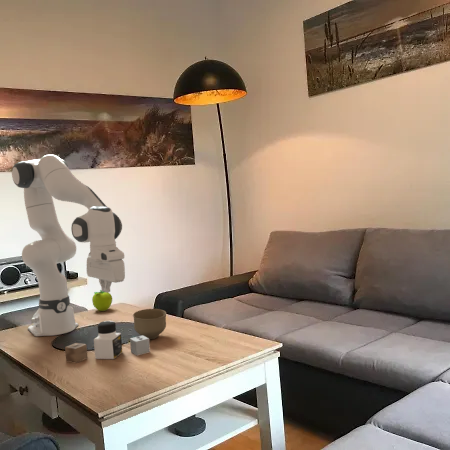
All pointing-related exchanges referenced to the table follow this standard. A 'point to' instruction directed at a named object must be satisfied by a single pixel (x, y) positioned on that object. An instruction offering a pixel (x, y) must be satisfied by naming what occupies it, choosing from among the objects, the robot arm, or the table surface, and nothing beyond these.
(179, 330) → the table surface
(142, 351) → the grey painted block
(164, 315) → the bowl
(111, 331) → the medicine bottle
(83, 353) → the walnut block
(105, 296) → the fruit
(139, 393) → the table surface
